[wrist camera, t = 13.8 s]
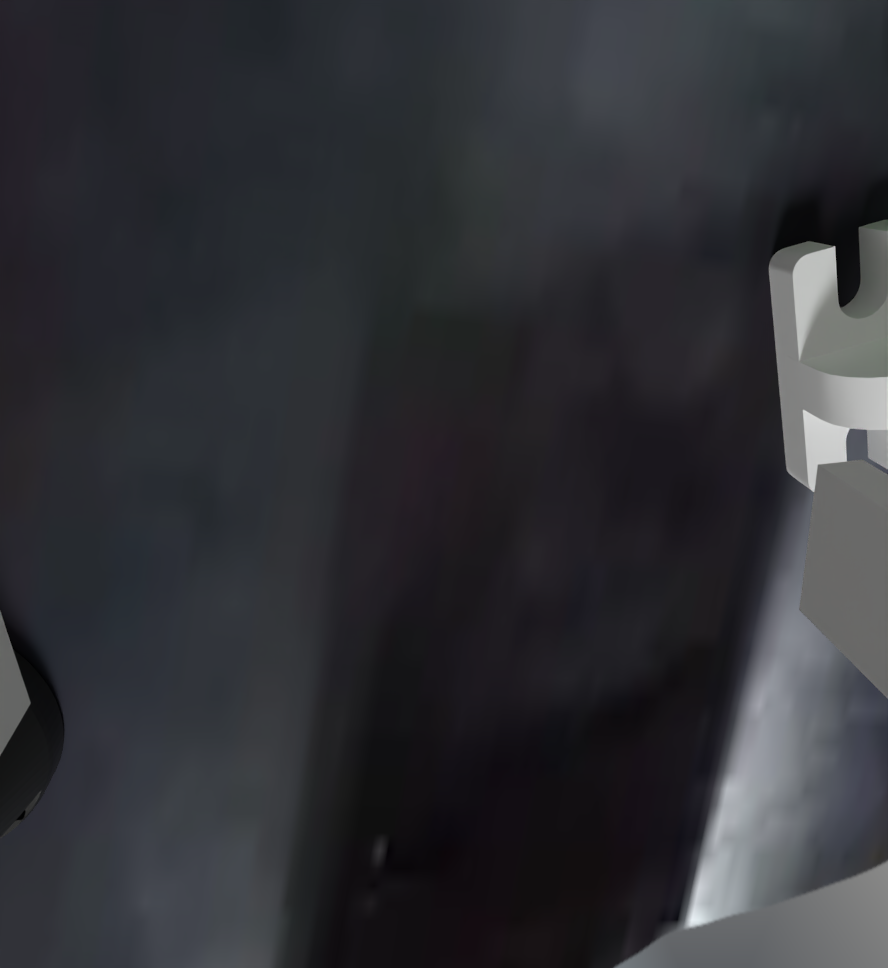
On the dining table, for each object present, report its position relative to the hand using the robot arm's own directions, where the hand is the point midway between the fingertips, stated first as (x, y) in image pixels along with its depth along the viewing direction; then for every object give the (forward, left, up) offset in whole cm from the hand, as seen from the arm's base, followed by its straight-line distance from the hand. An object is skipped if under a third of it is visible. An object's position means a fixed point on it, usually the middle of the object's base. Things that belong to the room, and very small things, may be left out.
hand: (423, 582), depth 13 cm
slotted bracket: (+24, -5, -29) cm, 38 cm away
